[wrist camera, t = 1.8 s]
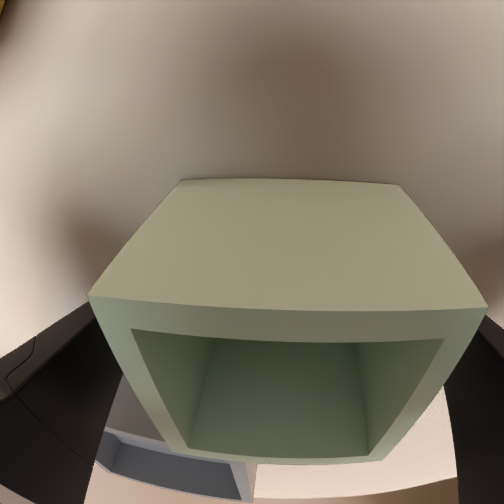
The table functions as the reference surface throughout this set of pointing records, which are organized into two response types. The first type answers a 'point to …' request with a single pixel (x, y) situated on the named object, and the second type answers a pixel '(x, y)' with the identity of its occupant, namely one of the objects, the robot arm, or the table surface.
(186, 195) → the small crate
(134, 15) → the table surface
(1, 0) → the flower pot
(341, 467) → the table surface
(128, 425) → the big crate
